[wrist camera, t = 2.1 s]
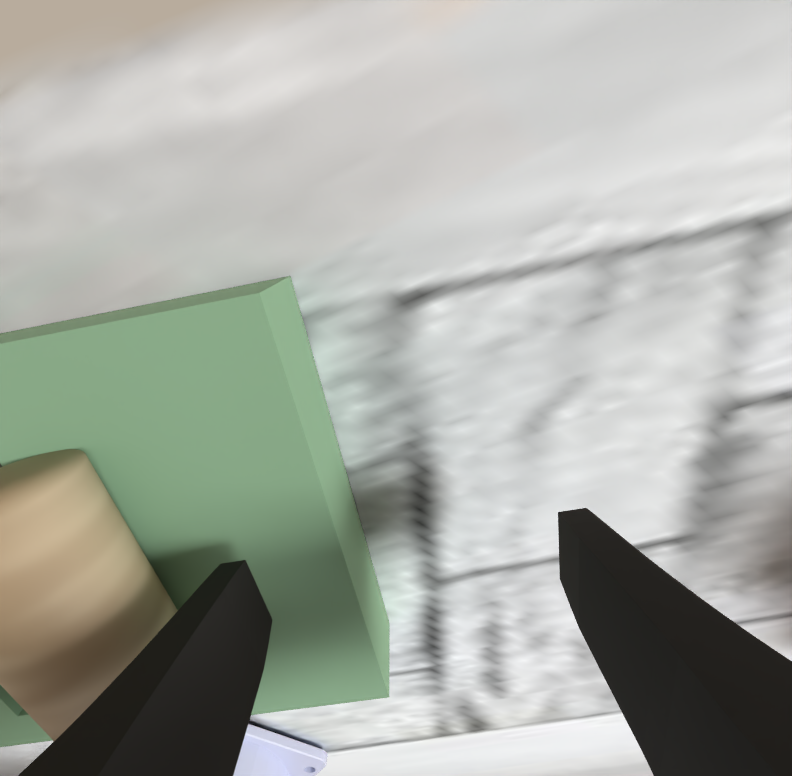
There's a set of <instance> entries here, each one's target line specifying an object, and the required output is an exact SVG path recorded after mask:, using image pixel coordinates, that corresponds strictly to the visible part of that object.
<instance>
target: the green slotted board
mask: <svg viewBox="0 0 792 776" xmlns="http://www.w3.org/2000/svg"><path fill="white" fill-rule="evenodd" d="M66 449H76V450H81V451H83V452H84V453H85V454H86V456H87V457H88V459H89V461H90V462H91V464H92V466H93V467H94V469H95V471H96V473H97V474H98V476H99V478H100V479H101V481H102V483H103V484H104V486H105V488H106V490H107V491H108V493H109V495H110V496H111V498H112V500H113V501H114V503H115V505H116V507H117V508H118V510H119V512H120V513H121V515H122V517H123V518H124V520H125V522H126V523H127V525H128V527H129V529H130V530H131V532H132V534H133V535H134V537H135V539H136V540H137V542H138V544H139V546H140V547H141V549H142V551H143V552H144V554H145V556H146V557H147V559H148V561H149V563H150V564H151V566H152V568H153V569H154V571H155V573H156V574H157V576H158V578H159V579H160V581H161V583H162V585H163V586H164V588H165V590H166V591H167V593H168V595H169V596H170V598H171V600H172V602H173V603H174V605H175V607H176V608H177V610H179V609H180V608H181V607H182V605H183V604H184V603H185V602H186V601H187V600H188V599H189V598H190V596H191V595H192V594H193V593H194V592H195V591H196V590H197V589H198V587H199V586H200V585H201V584H202V583H203V582H204V581H205V580H206V579H207V578H208V576H209V575H210V574H211V573H212V572H213V571H214V570H215V569H216V568H217V567H218V566H219V565H220V564H221V563H228V562H235V561H241V560H246V562H247V564H248V566H249V569H250V571H251V573H252V575H253V577H254V580H255V582H256V584H257V586H258V589H259V591H260V593H261V595H262V597H263V600H264V602H265V604H266V606H267V608H268V611H269V613H270V615H271V617H272V626H271V632H270V638H269V644H268V650H267V655H266V661H265V666H264V671H263V674H262V678H261V682H260V685H259V689H258V692H257V696H256V699H255V703H254V706H253V710H252V713H251V715H254V714H262V713H270V712H278V711H285V710H293V709H301V708H309V707H317V706H324V705H332V704H340V703H348V702H356V701H363V700H371V699H379V698H387V697H389V620H388V617H387V613H386V610H385V606H384V603H383V599H382V596H381V592H380V589H379V585H378V582H377V578H376V575H375V571H374V568H373V564H372V561H371V557H370V554H369V550H368V547H367V543H366V540H365V536H364V533H363V529H362V526H361V522H360V519H359V515H358V512H357V508H356V505H355V501H354V498H353V494H352V491H351V487H350V484H349V480H348V477H347V473H346V470H345V466H344V463H343V459H342V456H341V452H340V449H339V445H338V442H337V438H336V435H335V431H334V428H333V424H332V421H331V417H330V414H329V410H328V407H327V403H326V400H325V396H324V393H323V389H322V386H321V382H320V379H319V375H318V372H317V368H316V365H315V361H314V357H313V354H312V350H311V347H310V343H309V340H308V336H307V333H306V329H305V326H304V322H303V319H302V315H301V312H300V308H299V305H298V301H297V298H296V294H295V291H294V287H293V284H292V280H291V277H290V276H288V277H283V278H278V279H273V280H268V281H263V282H258V283H253V284H248V285H243V286H238V287H233V288H228V289H223V290H218V291H213V292H207V293H202V294H197V295H192V296H187V297H182V298H177V299H172V300H167V301H162V302H157V303H152V304H147V305H142V306H137V307H132V308H127V309H122V310H117V311H112V312H107V313H102V314H97V315H92V316H87V317H82V318H77V319H72V320H67V321H61V322H56V323H51V324H46V325H41V326H36V327H31V328H26V329H21V330H16V331H11V332H6V333H1V334H0V467H3V466H5V465H8V464H11V463H14V462H16V461H19V460H22V459H26V458H29V457H32V456H36V455H39V454H43V453H48V452H53V451H59V450H66ZM44 741H52V739H51V737H50V736H49V735H48V734H47V733H46V732H45V731H44V730H43V729H42V728H41V727H40V726H39V725H38V724H37V723H36V722H35V721H34V720H33V719H32V718H31V716H30V715H29V714H28V713H27V712H26V711H25V710H24V709H23V708H22V707H21V706H20V705H19V704H18V703H17V702H16V701H15V700H14V699H13V698H12V697H11V695H10V694H9V693H8V692H7V691H6V690H5V689H4V688H3V687H2V686H1V685H0V747H5V746H13V745H20V744H28V743H36V742H44Z"/></svg>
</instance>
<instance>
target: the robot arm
mask: <svg viewBox="0 0 792 776" xmlns="http://www.w3.org/2000/svg"><path fill="white" fill-rule="evenodd" d="M558 525H559V562H560V580H561V583H562V585H563V588H564V591H565V593H566V596H567V598H568V601H569V604H570V606H571V609H572V611H573V614H574V616H575V619H576V621H577V624H578V626H579V628H580V630H581V632H582V634H583V636H584V638H585V640H586V642H587V644H588V646H589V648H590V650H591V652H592V654H593V656H594V658H595V660H596V662H597V664H598V666H599V668H600V670H601V672H602V674H603V676H604V678H605V680H606V682H607V684H608V686H609V687H610V689H611V691H612V693H613V695H614V697H615V699H616V701H617V703H618V705H619V707H620V709H621V711H622V713H623V715H624V717H625V719H626V721H627V723H628V724H629V726H630V728H631V730H632V732H633V734H634V736H635V738H636V740H637V742H638V744H639V746H640V748H641V750H642V752H643V754H644V756H645V758H646V760H647V762H648V764H649V766H650V768H651V771H652V773H653V775H654V776H792V661H790V660H789V659H787V658H786V657H784V656H783V655H781V654H780V653H778V652H777V651H775V650H774V649H772V648H771V647H769V646H768V645H766V644H765V643H763V642H762V641H760V640H759V639H757V638H756V637H754V636H753V635H752V634H750V633H749V632H747V631H746V630H744V629H743V628H742V627H740V626H739V625H737V624H736V623H734V622H733V621H732V620H730V619H729V618H727V617H726V616H725V615H723V614H722V613H720V612H719V611H717V610H716V609H715V608H713V607H712V606H711V605H709V604H708V603H706V602H705V601H704V600H702V599H701V598H700V597H698V596H697V595H696V594H694V593H693V592H692V591H690V590H689V589H688V588H686V587H685V586H684V585H682V584H681V583H680V582H678V581H677V580H676V579H674V578H673V577H672V576H671V575H669V574H668V573H667V572H665V571H664V570H663V569H661V568H660V567H659V566H657V565H656V564H655V563H654V562H652V561H651V560H650V559H649V558H647V557H646V556H645V555H644V554H642V553H641V552H640V551H639V550H637V549H636V548H635V547H634V546H632V545H631V544H630V543H629V542H627V541H626V540H625V539H624V538H623V537H621V536H620V535H619V534H618V533H616V532H615V531H614V530H613V529H612V528H610V527H609V526H608V525H607V524H606V523H604V522H603V521H602V520H601V519H600V518H598V517H597V516H596V515H595V514H593V513H592V512H591V511H590V510H588V509H587V508H583V509H576V510H570V511H563V512H558ZM271 626H272V617H271V615H270V613H269V611H268V608H267V606H266V604H265V602H264V600H263V597H262V595H261V593H260V591H259V589H258V586H257V584H256V582H255V580H254V577H253V575H252V573H251V571H250V569H249V566H248V564H247V562H246V560H241V561H235V562H228V563H221V564H220V565H219V566H218V567H217V568H216V569H215V570H214V571H213V572H212V573H211V574H210V575H209V576H208V578H207V579H206V580H205V581H204V582H203V583H202V584H201V585H200V586H199V587H198V589H197V590H196V591H195V592H194V593H193V594H192V595H191V596H190V598H189V599H188V600H187V601H186V602H185V603H184V604H183V605H182V607H181V608H180V609H179V610H178V611H177V612H176V613H175V614H174V616H173V617H172V618H171V619H170V620H169V621H168V622H167V623H166V624H165V626H164V627H163V628H162V629H161V630H160V631H159V632H158V633H157V634H156V636H155V637H154V638H153V639H152V640H151V641H150V642H149V643H148V644H147V646H146V647H145V648H144V649H143V650H142V651H141V652H140V653H139V654H138V655H137V657H136V658H135V659H134V660H133V661H132V662H131V663H130V664H129V665H128V666H127V667H126V668H125V669H124V670H123V671H122V672H121V673H120V675H119V676H118V677H117V678H116V679H115V680H114V681H113V682H112V683H111V684H110V685H109V686H108V687H107V688H106V689H105V690H104V691H103V692H102V693H101V694H100V695H99V696H98V698H97V699H96V700H95V701H94V702H93V703H92V704H91V705H90V706H89V707H88V708H87V709H86V710H85V711H84V712H83V713H82V714H81V715H80V716H79V717H78V718H77V719H76V720H75V721H74V722H73V723H72V724H71V725H70V726H69V727H68V728H67V729H66V730H65V731H64V732H63V733H62V734H61V735H60V736H59V737H58V738H57V739H56V740H55V741H54V742H53V743H52V744H51V745H50V746H49V747H48V748H47V749H46V750H45V751H44V752H43V753H42V754H41V755H40V756H38V757H37V758H36V759H35V760H34V761H33V762H32V763H31V764H30V765H29V766H28V767H27V768H26V769H25V770H24V771H23V772H22V773H20V774H19V775H18V776H315V775H316V774H317V773H319V772H320V771H321V770H322V769H323V768H324V767H325V766H326V764H327V753H326V752H325V750H323V749H320V748H317V747H314V746H311V745H309V744H306V743H303V742H300V741H297V740H294V739H291V738H288V737H286V736H283V735H280V734H277V733H274V732H271V731H268V730H265V729H262V728H260V727H257V726H254V725H251V724H248V723H249V720H250V717H251V713H252V710H253V706H254V703H255V699H256V696H257V692H258V689H259V685H260V682H261V678H262V674H263V671H264V666H265V661H266V655H267V650H268V644H269V638H270V632H271Z"/></svg>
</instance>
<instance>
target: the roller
mask: <svg viewBox="0 0 792 776" xmlns="http://www.w3.org/2000/svg"><path fill="white" fill-rule="evenodd" d="M177 611H178V610H177V608H176V607H175V605H174V603H173V602H172V600H171V598H170V596H169V595H168V593H167V591H166V590H165V588H164V586H163V585H162V583H161V581H160V579H159V578H158V576H157V574H156V573H155V571H154V569H153V568H152V566H151V564H150V563H149V561H148V559H147V557H146V556H145V554H144V552H143V551H142V549H141V547H140V546H139V544H138V542H137V540H136V539H135V537H134V535H133V534H132V532H131V530H130V529H129V527H128V525H127V523H126V522H125V520H124V518H123V517H122V515H121V513H120V512H119V510H118V508H117V507H116V505H115V503H114V501H113V500H112V498H111V496H110V495H109V493H108V491H107V490H106V488H105V486H104V484H103V483H102V481H101V479H100V478H99V476H98V474H97V473H96V471H95V469H94V467H93V466H92V464H91V462H90V461H89V459H88V457H87V456H86V454H85V453H84V452H83V451H81V450H76V449H66V450H59V451H53V452H48V453H43V454H39V455H36V456H32V457H29V458H26V459H22V460H19V461H16V462H14V463H11V464H8V465H5V466H3V467H0V685H1V686H2V687H3V688H4V689H5V690H6V691H7V692H8V693H9V694H10V695H11V697H12V698H13V699H14V700H15V701H16V702H17V703H18V704H19V705H20V706H21V707H22V708H23V709H24V710H25V711H26V712H27V713H28V714H29V715H30V716H31V718H32V719H33V720H34V721H35V722H36V723H37V724H38V725H39V726H40V727H41V728H42V729H43V730H44V731H45V732H46V733H47V734H48V735H49V736H50V737H51V739H52V740H53V741H55V740H56V739H57V738H58V737H59V736H60V735H61V734H62V733H63V732H64V731H65V730H66V729H67V728H68V727H69V726H70V725H71V724H72V723H73V722H74V721H75V720H76V719H77V718H78V717H79V716H80V715H81V714H82V713H83V712H84V711H85V710H86V709H87V708H88V707H89V706H90V705H91V704H92V703H93V702H94V701H95V700H96V699H97V698H98V696H99V695H100V694H101V693H102V692H103V691H104V690H105V689H106V688H107V687H108V686H109V685H110V684H111V683H112V682H113V681H114V680H115V679H116V678H117V677H118V676H119V675H120V673H121V672H122V671H123V670H124V669H125V668H126V667H127V666H128V665H129V664H130V663H131V662H132V661H133V660H134V659H135V658H136V657H137V655H138V654H139V653H140V652H141V651H142V650H143V649H144V648H145V647H146V646H147V644H148V643H149V642H150V641H151V640H152V639H153V638H154V637H155V636H156V634H157V633H158V632H159V631H160V630H161V629H162V628H163V627H164V626H165V624H166V623H167V622H168V621H169V620H170V619H171V618H172V617H173V616H174V614H175V613H176V612H177Z"/></svg>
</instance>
